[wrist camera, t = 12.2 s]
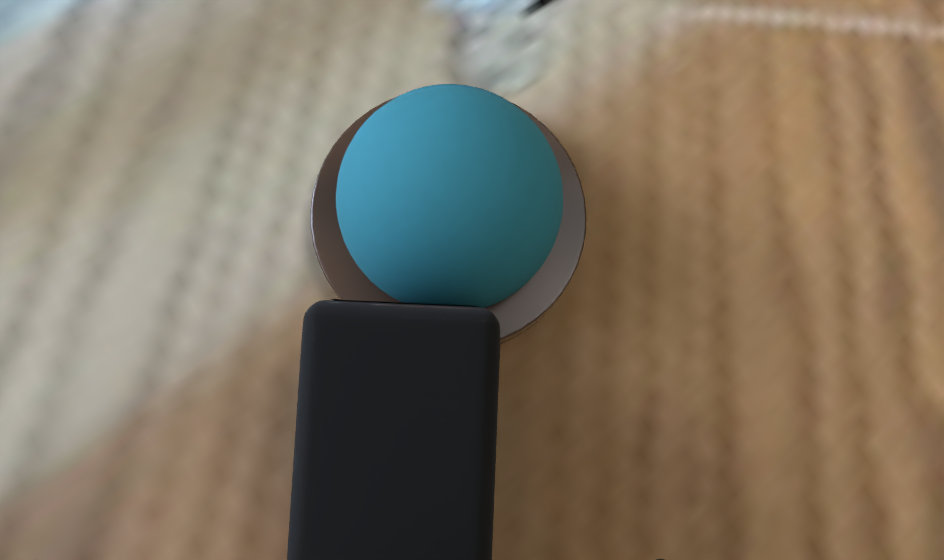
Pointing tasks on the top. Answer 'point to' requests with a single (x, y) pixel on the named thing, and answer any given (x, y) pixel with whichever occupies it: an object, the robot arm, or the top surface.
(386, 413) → the battery
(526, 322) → the teal dome on base
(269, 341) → the top surface
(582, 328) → the top surface
